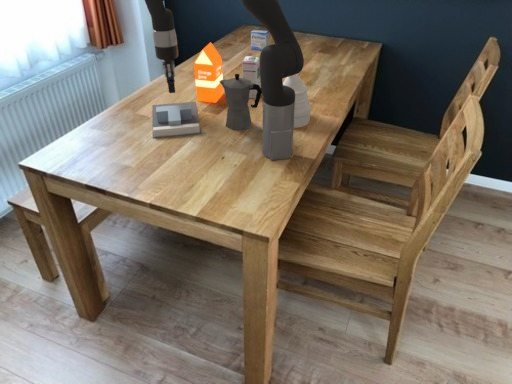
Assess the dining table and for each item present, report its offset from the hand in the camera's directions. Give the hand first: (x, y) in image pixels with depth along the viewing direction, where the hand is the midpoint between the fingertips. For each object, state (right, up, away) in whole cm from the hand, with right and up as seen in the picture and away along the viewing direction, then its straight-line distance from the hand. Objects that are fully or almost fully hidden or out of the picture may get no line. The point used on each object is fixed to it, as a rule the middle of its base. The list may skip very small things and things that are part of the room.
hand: (172, 92), depth 156 cm
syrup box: (+28, +2, +15) cm, 32 cm away
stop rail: (+4, -16, -11) cm, 20 cm away
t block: (+2, -12, -5) cm, 13 cm away
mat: (+2, -10, -2) cm, 10 cm away
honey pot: (+42, -10, -2) cm, 44 cm away
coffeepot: (+25, -13, -6) cm, 29 cm away
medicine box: (+32, +35, +60) cm, 76 cm away
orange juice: (+12, +1, +13) cm, 18 cm away
